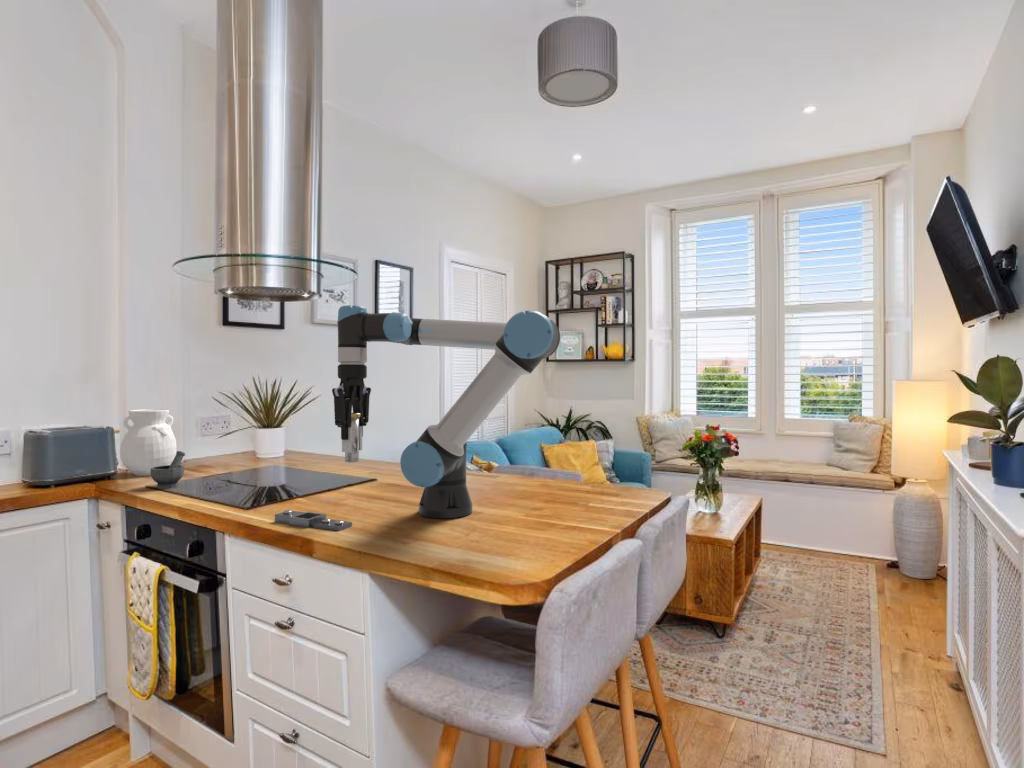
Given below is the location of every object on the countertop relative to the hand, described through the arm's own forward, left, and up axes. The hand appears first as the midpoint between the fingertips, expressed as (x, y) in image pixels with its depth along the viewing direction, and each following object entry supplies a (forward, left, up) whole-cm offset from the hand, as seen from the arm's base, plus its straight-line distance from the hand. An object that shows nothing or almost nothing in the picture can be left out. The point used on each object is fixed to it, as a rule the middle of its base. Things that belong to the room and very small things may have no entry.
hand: (352, 450), depth 152 cm
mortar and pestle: (+86, -10, -19) cm, 88 cm away
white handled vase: (+117, -24, -19) cm, 121 cm away
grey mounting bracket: (+6, +8, -19) cm, 21 cm away
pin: (0, 0, -3) cm, 3 cm away
